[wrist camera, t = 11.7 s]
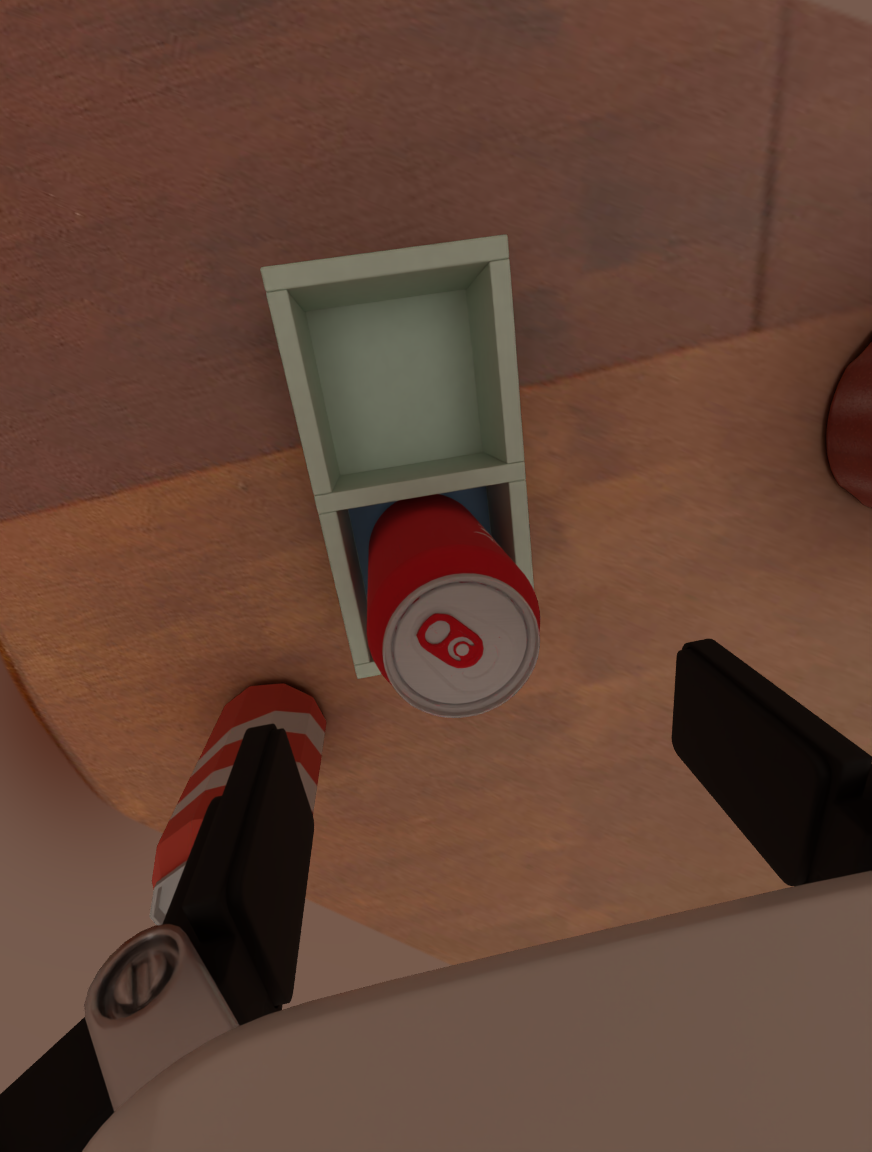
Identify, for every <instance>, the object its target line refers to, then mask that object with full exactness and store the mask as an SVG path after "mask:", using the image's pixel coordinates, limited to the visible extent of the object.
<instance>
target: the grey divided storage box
mask: <svg viewBox="0 0 872 1152" xmlns="http://www.w3.org/2000/svg"><path fill="white" fill-rule="evenodd" d="M508 258H509V248H508V236H507V235H497V236H490V237H482V238H475V239H467V240H460V241H453V242H445V243H438V244H430V245H423V246H415V247H408V248H400V249H393V250H385V251H378V252H371V253H363V254H356V255H348V256H341V257H333V258H326V259H318V260H311V261H303V262H296V263H289V264H281V265H274V266H266V267H261V269H260V270H261V275H262V279H263V283H264V287H265V290H266V292H267V293H266V296H267V300H268V304H269V309H270V313H271V317H272V321H273V326H274V330H275V334H276V338H277V342H278V347H279V351H280V355H281V359H282V363H283V368H284V372H285V376H286V380H287V385H288V389H289V393H290V397H291V401H292V406H293V410H294V414H295V418H296V423H297V427H298V431H299V435H300V439H301V444H302V448H303V452H304V456H305V460H306V465H307V469H308V473H309V477H310V482H311V486H312V490H313V494H314V495H315V496H314V499H315V503H316V507H317V511H318V514H319V519H320V523H321V528H322V532H323V536H324V540H325V545H326V549H327V553H328V557H329V561H330V566H331V570H332V574H333V578H334V582H335V587H336V591H337V595H338V599H339V604H340V608H341V612H342V616H343V620H344V625H345V629H346V633H347V637H348V642H349V646H350V650H351V654H352V658H353V663H354V667H355V671H356V675H357V678H358V679H360V678H365V677H370V676H376V675H381V672H380V671H379V669H378V667H377V666H376V664H375V662H374V660H373V658H372V655H371V652H370V649H369V646H368V640H367V593H368V555H369V540H370V536H371V533H372V530H373V528H374V526H375V524H376V522H377V520H378V519H379V517H380V516H381V515H382V514H383V512H384V511H385V510H386V509H387V508H389V507H390V506H391V505H392V504H394V503H395V502H397V501H399V500H405V499H411V498H417V497H423V496H429V495H435V494H440V495H444V496H447V497H449V498H452V499H454V500H456V501H457V502H459V503H461V504H462V505H463V506H464V507H465V508H467V509H468V511H469V512H470V513H471V514H472V515H473V516H474V517H475V518H476V519H477V521H478V522H479V523H480V524H481V525H482V526H483V527H484V529H485V530H486V531H487V532H488V533H489V534H490V535H491V537H492V538H493V539H494V540H495V541H496V542H497V543H498V545H499V546H500V547H501V548H502V549H503V550H504V551H505V553H506V554H507V555H508V556H509V557H510V558H511V559H512V561H513V562H514V563H515V564H516V565H517V566H518V567H519V568H520V570H521V571H522V572H523V573H524V574H525V576H526V577H527V579H528V580H529V582H530V584H531V585H532V587H533V590H534V583H533V570H532V556H531V543H530V529H529V516H528V502H527V489H526V480H525V479H526V475H525V462H524V448H523V434H522V421H521V407H520V394H519V380H518V367H517V353H516V340H515V327H514V313H513V300H512V286H511V273H510V260H509V259H508Z"/></svg>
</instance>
